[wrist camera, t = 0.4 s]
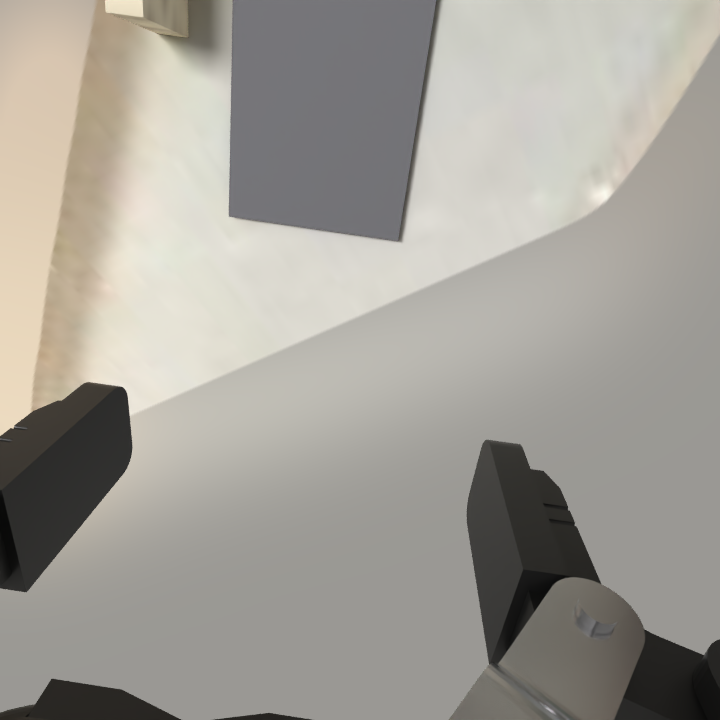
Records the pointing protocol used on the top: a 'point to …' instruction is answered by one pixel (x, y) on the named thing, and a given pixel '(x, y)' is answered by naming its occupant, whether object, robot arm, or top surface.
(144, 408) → the top surface
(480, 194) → the top surface
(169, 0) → the wooden block
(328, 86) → the mat
